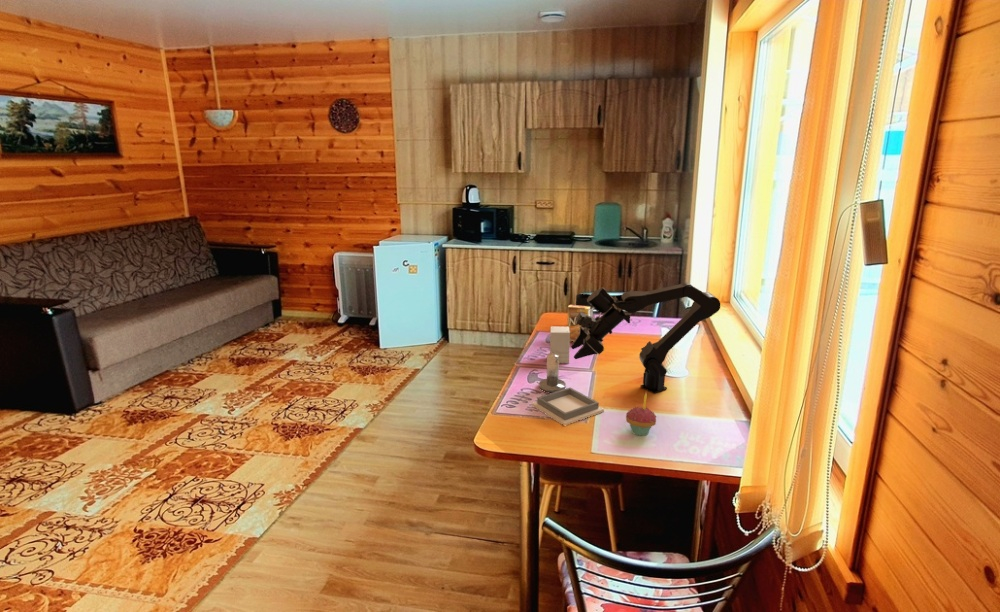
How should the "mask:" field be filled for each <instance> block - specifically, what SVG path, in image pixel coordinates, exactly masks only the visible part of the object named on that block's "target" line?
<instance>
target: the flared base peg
mask: <svg viewBox="0 0 1000 612" xmlns="http://www.w3.org/2000/svg"><path fill="white" fill-rule="evenodd" d="M559 368H560V363H559V354H557V353H547V354H546V378H544V379H541V380H540V381H539V384H538V385H539V386H538V387H539V388H540V389H541V390H543V391H545V392H544V393H546V392H549V393H548V394H551V393H554V392H557V391H560V390H563V389H565V388H566V387H567V385H566V382H565V381H564V380H562V379H559V374H560V371H559ZM540 389H539V390H540ZM541 390H540V391H541ZM543 391H542V392H543Z"/></svg>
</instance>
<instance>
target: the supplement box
mask: <svg viewBox="0 0 1000 612" xmlns="http://www.w3.org/2000/svg"><path fill="white" fill-rule="evenodd" d="M549 331H550V334H549V335H550V337H549V339H550V340H549V341H550V342H549V347H550V349H549V352H550V353H557V354H559V364H570V348H571V346H570V345H571V341H570V331H569V327H567V326H555V325H554V326H550V330H549Z"/></svg>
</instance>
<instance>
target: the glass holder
mask: <svg viewBox="0 0 1000 612" xmlns="http://www.w3.org/2000/svg"><path fill="white" fill-rule="evenodd" d="M590 295H591V293H590V294H589V293H579V294H576V295H575V299H576V300H575V305H580V306H590V316H591V317H592V318H594V310H595V309H594V308H593V307H592V306H591V305H590V304H589V303H588V302H587V299H588V297H589V296H590ZM601 314H602V312H601V313H599V315H598V316H599V317H601V316H602V315H601Z"/></svg>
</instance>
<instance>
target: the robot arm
mask: <svg viewBox="0 0 1000 612" xmlns="http://www.w3.org/2000/svg"><path fill="white" fill-rule="evenodd" d="M683 298H688V299H689V300H691V301H693V302H692V304H691V306H690V309H689V311H688V312H687V313H686V314H685V315H684V316H683V317H682V318H680V320H678V322H677V323H675V324H674V325H673V327H672V328H671V329H669V331H667V332H666V333H665V334H664V335H663V336H662V337H661V338H660V339H659V340H658V341H656V342H654V343H652V342H651V341H650V340H649V341H648V342H647V343H646V344H645V346H643V347H641V348H640V350H641V351H640V353H639V354H638V355H639V357H638V358H639V360H640V362H641V364H642V365H643V368H644V372H643V377H642V384H640V389H644V390H646V391H648V392H650V393H652V394H657V393H659V392H662V391H665V390H666V391H667V389H668V387H667V386H665V381H666V380H665V379H666V375H667V373H668V370H667V368H666V366H664V364H663V363H664V361H665V360H666V358H667V355H668V353H669V352H670V350H672V349H673V348H674V347H675V346H676V345H677V344H678V343H679V342H680V341H681V340H682V339H683V338H684V337H686V335H687V334H689V333H690V332H691V330H693V329H694V328H695V327H696V326H697V325H698V324H699V323H700V322H702V321H705V320H707V319H710V318H711V317H712V316H713V315H715V314H716V313H718V312H719V311H720V309H721V301H720V300H719V298H718V297H716V296H715V295H713V294H712V293H711V292H708V291H705V292H704V291H702V290H700V289H699V288H696V287H695V286H693V285H692V284H691V283H690V282H687V281H686V282H682V283H680V284H675V285H670V286H665V287H662V288H657V289H652V290H648V291H646V290H645V291H641V290H635V291H633V290H632V291H625V292H623V293H622V294H618V295H610V294H609V293H608V292H607V290H606V288H604V287H603V286H601V287H600V288H598V289H596V290H595V291H593V292H592V293H590V296H589V297H588V299H587V302H588V303H589V304H590V305H591V306H592V307H593V308H594V310H595V311H596V312H597V313H599V314H600V313H601V314H602V315H600V317H599V315H597V316H596V317H593V318H592V317H591V316H589V315H586V314H584V313H582V312H580V313H579V315H578V317H577V318H576V321H577V322H576V323H577V324H578V325H580V333H579V335H578V337H577V338H576V340H575V341H574V342H572V344H571V346H570V348H571V349H572V350H575V349H577V348H579V347H580V348H579V349H578V351H577V352H576V353H575V354H574V356H573V358H574V360H578V359H579V360H580V359H581V358H585V357H589V356H593V355H601V353H603V352H604V351H605V350H604V349H605V348H604V347H605V346H604V344H603V342H604V339H603V338H605V337H606V336H607V335H608V334H609V335H611V334H612V333H613V330H614V329H615V328H616V327H617V326H618V325H619V324H621V323H622V322H623V321H625V322H626V323H627V324H630V323H631V317H632V316H631V314H634V313H637V312H640V311H643V310H644V309H646V308H647V307H649V306H652V305H655V304H661V303H665V302H669V301H670V302H671V301H673V300H679V299H683Z"/></svg>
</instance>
